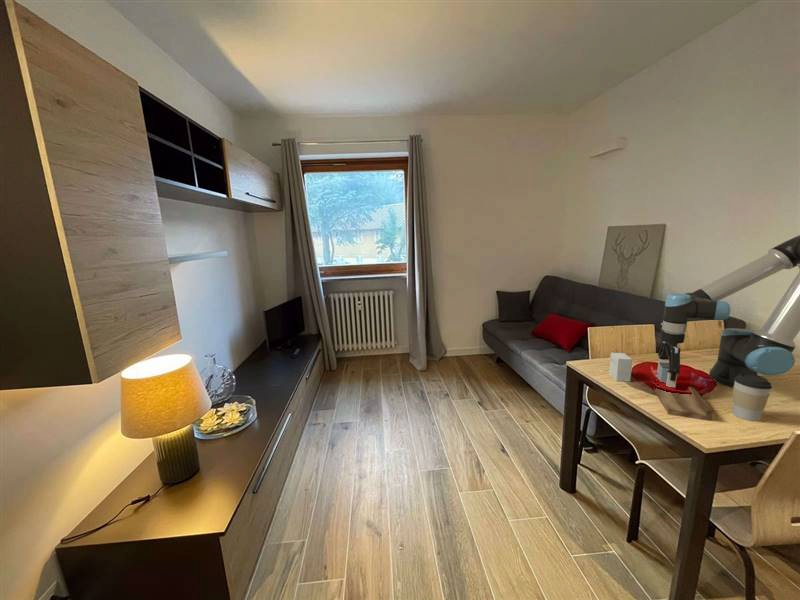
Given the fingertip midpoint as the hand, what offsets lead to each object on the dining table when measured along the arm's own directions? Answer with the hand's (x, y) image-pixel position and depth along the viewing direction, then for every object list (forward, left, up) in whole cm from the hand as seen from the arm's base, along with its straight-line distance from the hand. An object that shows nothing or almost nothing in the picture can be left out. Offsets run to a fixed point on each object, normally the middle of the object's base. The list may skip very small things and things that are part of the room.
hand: (665, 380), depth 138 cm
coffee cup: (-19, +17, -3) cm, 26 cm away
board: (-1, +15, -3) cm, 16 cm away
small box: (+16, -3, -3) cm, 16 cm away
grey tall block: (0, 0, -3) cm, 3 cm away
